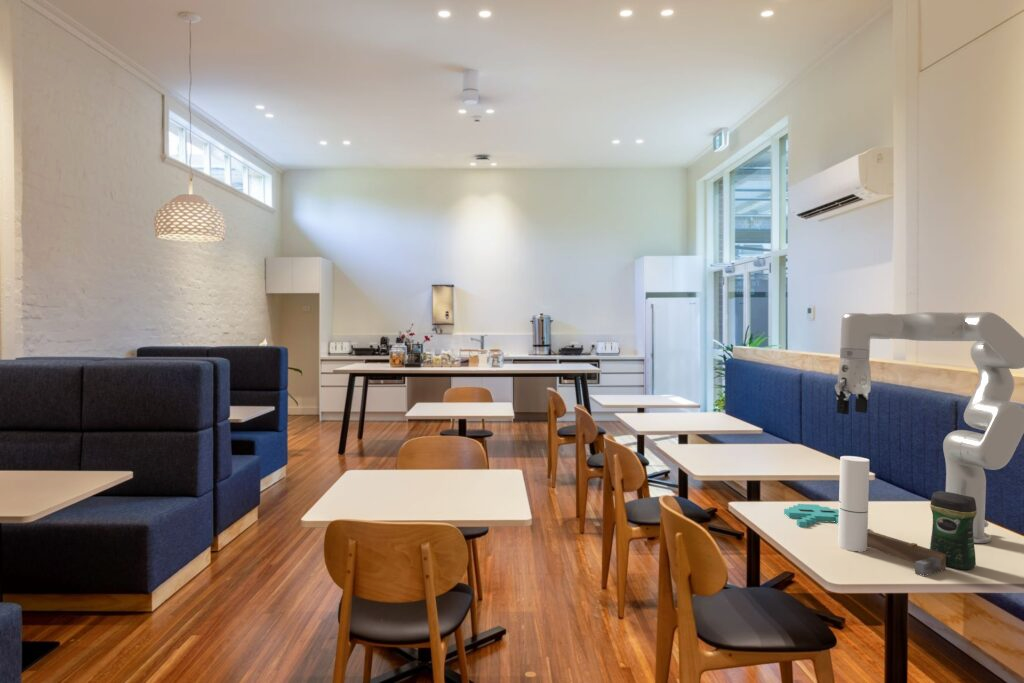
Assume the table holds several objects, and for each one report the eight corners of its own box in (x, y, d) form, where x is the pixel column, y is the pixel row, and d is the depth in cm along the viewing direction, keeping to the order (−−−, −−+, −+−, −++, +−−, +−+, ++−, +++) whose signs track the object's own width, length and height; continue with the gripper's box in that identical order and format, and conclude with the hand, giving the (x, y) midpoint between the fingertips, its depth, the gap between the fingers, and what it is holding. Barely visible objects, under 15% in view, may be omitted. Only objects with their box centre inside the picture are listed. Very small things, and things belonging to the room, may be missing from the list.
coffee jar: (979, 566, 156) (982, 495, 156) (967, 573, 151) (969, 500, 151) (937, 554, 164) (939, 487, 164) (924, 560, 160) (926, 491, 159)
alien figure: (867, 531, 184) (838, 512, 204) (867, 524, 184) (838, 505, 204) (799, 528, 186) (777, 509, 206) (799, 521, 186) (777, 502, 206)
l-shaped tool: (844, 536, 178) (845, 522, 177) (945, 569, 154) (946, 552, 154) (822, 541, 173) (823, 526, 173) (923, 576, 149) (924, 559, 149)
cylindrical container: (861, 544, 171) (864, 456, 171) (870, 553, 164) (873, 462, 164) (834, 541, 173) (836, 455, 172) (842, 550, 166) (844, 460, 166)
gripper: (851, 355, 170) (848, 416, 170) (883, 356, 179) (880, 413, 179) (825, 354, 176) (822, 412, 176) (857, 354, 185) (855, 410, 185)
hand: (852, 412), depth 178 cm, fingers open, 9 cm apart
